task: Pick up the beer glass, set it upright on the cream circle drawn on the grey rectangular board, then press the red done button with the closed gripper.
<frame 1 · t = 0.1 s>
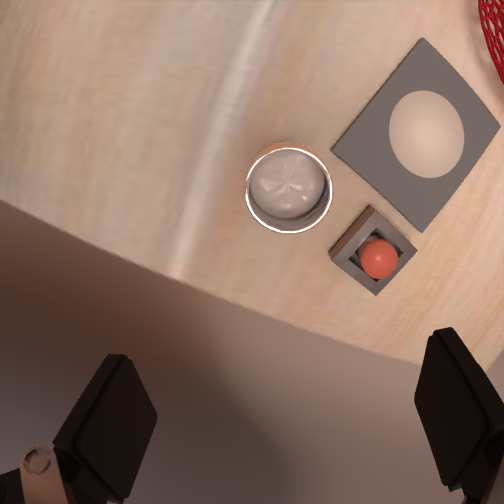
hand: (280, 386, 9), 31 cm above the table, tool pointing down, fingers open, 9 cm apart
grey rectangular board: (425, 133, 33), on the table
beer glass: (284, 166, 37), on the table
button housing: (370, 246, 39), on the table
done button: (377, 256, 36), point 3 cm above the table, slide at 0.0 cm
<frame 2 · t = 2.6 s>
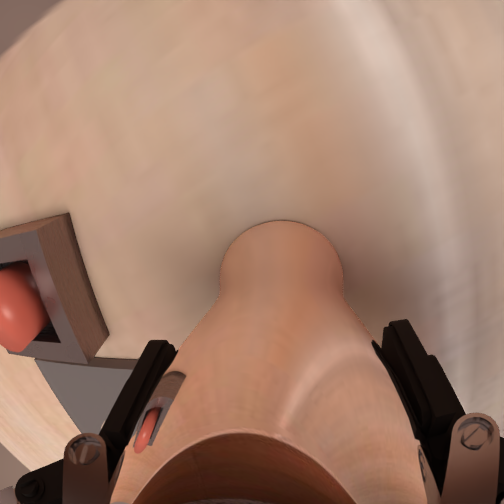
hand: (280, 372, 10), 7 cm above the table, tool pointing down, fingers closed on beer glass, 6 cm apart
grey rectangular board: (165, 445, 22), on the table
beer glass: (281, 277, 16), on the table, touching gripper
button housing: (43, 281, 17), on the table
done button: (13, 306, 14), point 3 cm above the table, slide at 0.0 cm
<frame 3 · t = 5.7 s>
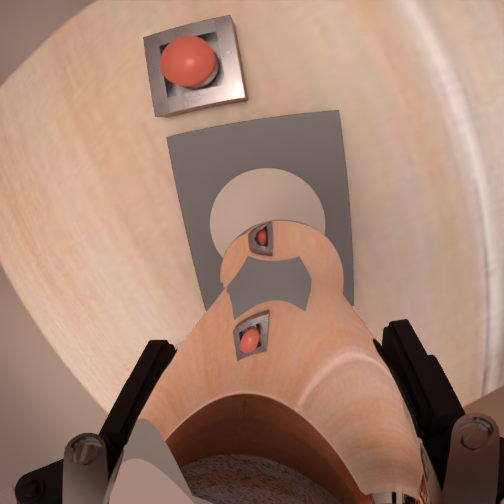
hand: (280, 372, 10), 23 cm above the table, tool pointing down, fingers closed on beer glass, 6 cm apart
grey rectangular board: (267, 222, 31), on the table
beer glass: (281, 276, 16), point 16 cm above the table, touching gripper
button housing: (199, 69, 26), on the table
done button: (190, 63, 23), point 3 cm above the table, slide at 0.0 cm
when the fingers open (8 cm above the table, at t = 9.1 s): beer glass stays where it is, resting on grey rectangular board.
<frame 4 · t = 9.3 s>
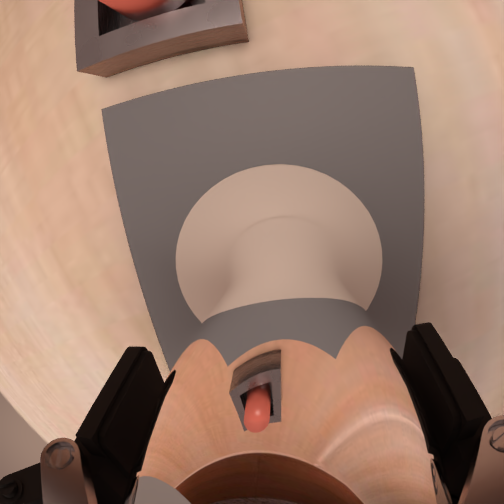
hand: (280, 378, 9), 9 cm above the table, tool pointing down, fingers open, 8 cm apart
grey rectangular board: (279, 263, 18), on the table
beer glass: (284, 271, 17), point 1 cm above the table, touching grey rectangular board
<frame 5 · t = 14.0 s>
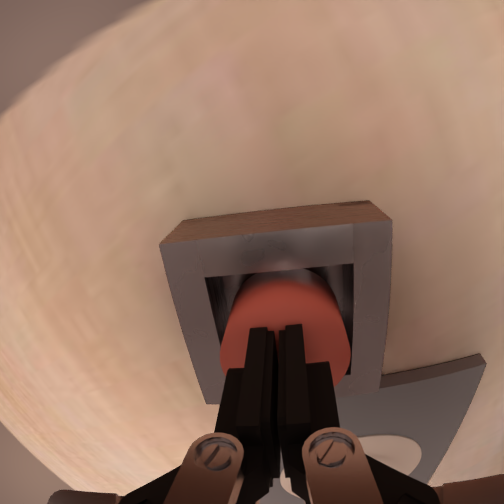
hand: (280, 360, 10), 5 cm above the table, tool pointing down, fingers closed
grey rectangular board: (350, 463, 20), on the table
button housing: (284, 294, 15), on the table
done button: (285, 336, 12), point 3 cm above the table, slide at 0.1 cm, touching gripper
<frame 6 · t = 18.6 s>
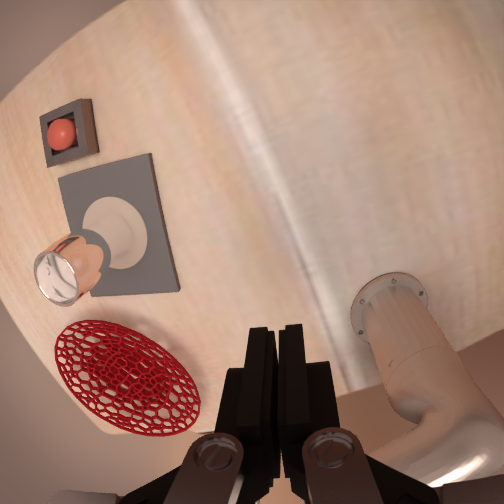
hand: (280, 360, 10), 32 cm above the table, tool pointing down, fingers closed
grey rectangular board: (116, 231, 44), on the table
beer glass: (115, 233, 43), point 1 cm above the table, touching grey rectangular board
bowl: (131, 370, 55), on the table
button housing: (73, 132, 39), on the table
done button: (64, 133, 36), point 2 cm above the table, slide at 0.9 cm
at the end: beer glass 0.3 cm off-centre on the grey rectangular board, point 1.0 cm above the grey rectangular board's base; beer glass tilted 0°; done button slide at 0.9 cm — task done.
